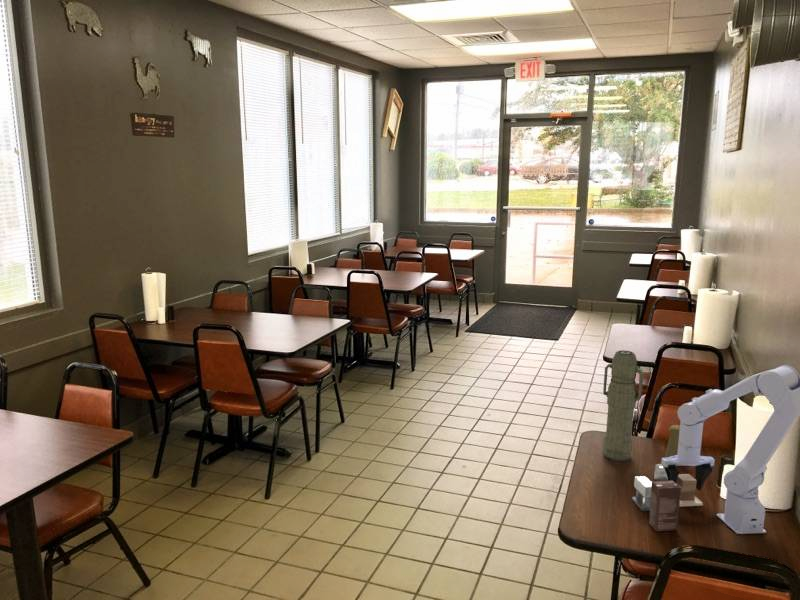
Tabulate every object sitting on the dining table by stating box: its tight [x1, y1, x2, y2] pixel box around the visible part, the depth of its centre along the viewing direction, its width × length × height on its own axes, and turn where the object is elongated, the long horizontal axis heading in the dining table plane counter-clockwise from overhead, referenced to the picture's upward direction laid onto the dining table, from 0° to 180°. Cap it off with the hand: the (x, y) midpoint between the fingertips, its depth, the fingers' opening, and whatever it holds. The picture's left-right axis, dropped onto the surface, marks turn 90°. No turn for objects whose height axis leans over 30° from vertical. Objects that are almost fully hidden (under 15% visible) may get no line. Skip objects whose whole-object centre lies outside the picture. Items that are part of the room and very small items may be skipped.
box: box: [648, 480, 681, 532], centre depth 165 cm, size 6×4×12 cm
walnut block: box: [676, 473, 697, 501], centre depth 180 cm, size 4×4×6 cm
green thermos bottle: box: [602, 349, 645, 462], centre depth 207 cm, size 9×12×35 cm
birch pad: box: [679, 496, 704, 508], centre depth 181 cm, size 7×7×1 cm
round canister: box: [653, 463, 668, 481], centre depth 193 cm, size 4×4×4 cm
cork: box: [664, 424, 680, 458], centre depth 208 cm, size 6×6×11 cm
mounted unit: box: [631, 475, 652, 512], centre depth 177 cm, size 6×4×7 cm, turn 5°
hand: (685, 489), depth 180 cm, fingers open, 7 cm apart
